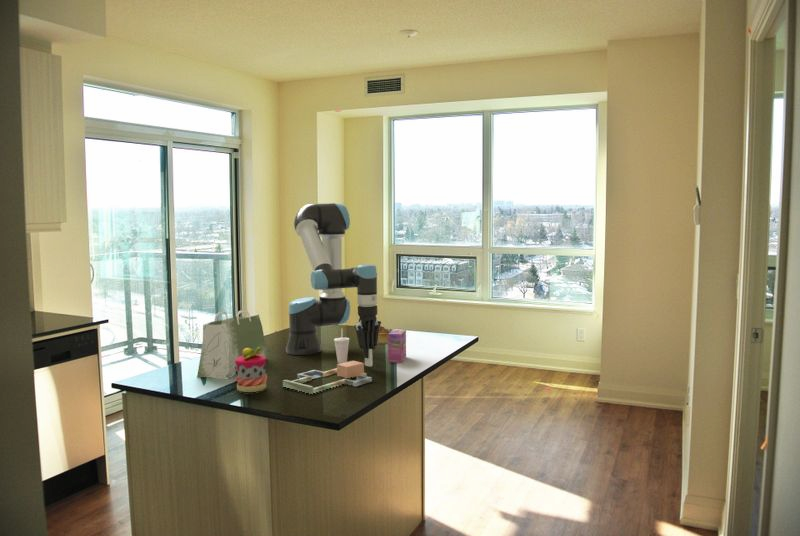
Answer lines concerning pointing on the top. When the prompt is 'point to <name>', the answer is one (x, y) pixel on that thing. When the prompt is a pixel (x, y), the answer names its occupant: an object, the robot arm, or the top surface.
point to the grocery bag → (229, 344)
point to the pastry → (383, 335)
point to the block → (350, 369)
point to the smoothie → (341, 348)
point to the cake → (251, 371)
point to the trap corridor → (317, 374)
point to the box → (397, 345)
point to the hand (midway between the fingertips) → (368, 365)
